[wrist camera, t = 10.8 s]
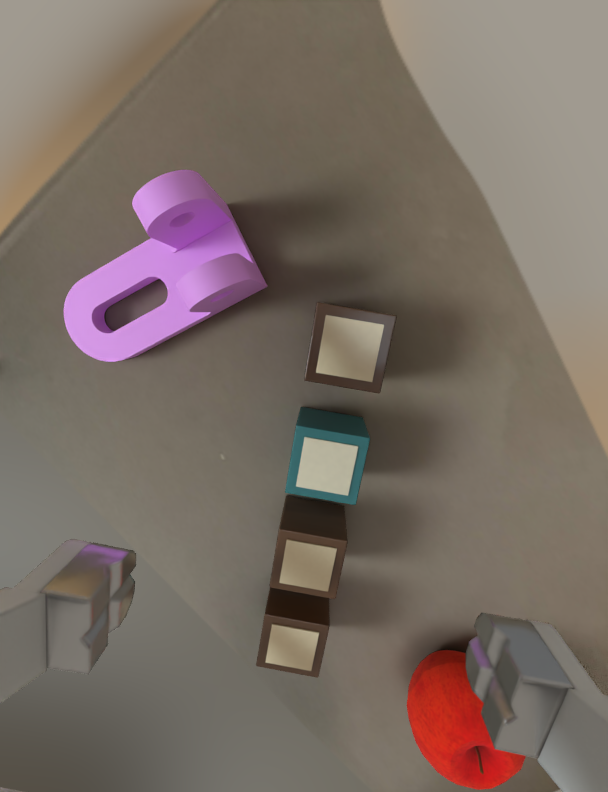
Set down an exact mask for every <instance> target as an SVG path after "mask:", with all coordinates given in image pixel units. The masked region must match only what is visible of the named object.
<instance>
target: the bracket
mask: <svg viewBox="0 0 608 792" xmlns="http://www.w3.org/2000/svg"><path fill="white" fill-rule="evenodd" d="M132 205H133V208H134V210H135V212H136V214H137V215H138V217H139V219H140V221H141V223H142V225H143V226H144V228H145V230H146V232H147V234H148V235H149V237H151V239H149V240H147V241H145V242H144V243H142V244H140V245H139V246H137V247H135V248H133V249H132V250H130V251H128V252H127V253H125V254H123V255H122V256H120V257H118V258H116V259H115V260H113V261H111V262H110V263H108V264H106V265H104V266H103V267H101V268H99V269H98V270H96V271H94V272H93V273H91V274H89V275H87V276H86V277H84V278H82V279H81V280H79V281H78V282H77V283H76V284H75V285H74V286H73V287H72V288H71V290H70V291H69V293H68V295H67V297H66V300H65V305H64V320H65V325H66V328H67V331H68V333H69V335H70V337H71V338H72V340H73V341H74V343H75V344H76V345H77V346H78V347H79V348H80V349H81V350H82V351H83V352H84V353H86V354H87V355H89V356H91V357H93V358H95V359H98V360H101V361H107V362H114V361H121V360H125V359H129V358H133V357H136V356H138V355H140V354H142V353H144V352H146V351H147V350H149V349H151V348H153V347H155V346H157V345H159V344H161V343H162V342H164V341H166V340H168V339H170V338H172V337H174V336H176V335H177V334H179V333H181V332H183V331H185V330H187V329H189V328H191V327H193V326H194V325H196V324H198V323H200V322H202V321H204V320H206V319H208V318H209V317H211V316H213V315H215V314H217V313H219V312H221V311H223V310H224V309H226V308H228V307H230V306H232V305H234V304H236V303H238V302H239V301H241V300H243V299H245V298H247V297H249V296H251V295H253V294H255V293H256V292H258V291H260V290H262V289H264V288H266V287H268V286H267V284H266V282H265V280H264V278H263V276H262V274H261V272H260V270H259V268H258V266H257V264H256V262H255V260H254V258H253V256H252V254H251V252H250V250H249V248H248V246H247V244H246V242H245V240H244V238H243V236H242V234H241V232H240V230H239V228H238V226H237V224H236V222H235V220H234V218H233V216H232V214H231V212H230V210H229V208H228V206H227V204H226V203H225V202H224V201H223V200H222V199H221V197H220V196H219V195H218V194H217V193H216V192H215V191H214V190H213V189H212V187H211V186H210V185H209V184H208V183H207V182H206V181H205V180H204V179H203V178H202V176H201V175H200V174H199V173H197V172H195V171H192V170H177V171H173V172H169V173H166V174H163V175H161V176H159V177H156V178H155V179H153V180H151V181H149V182H148V183H147V184H145V185H144V186H143V187H142V188H141V189H140V190H139V191H138V192H137V193H136V195H135V196H134V198H133V202H132ZM158 279H161V280H162V281H163V282H164V283H165V285H166V287H167V290H168V297H167V300H166V301H165V303H164V304H163V305H161V306H159V307H158V308H156V309H154V310H152V311H150V312H149V313H147V314H145V315H143V316H141V317H139V318H138V319H136V320H134V321H132V322H130V323H129V324H127V325H125V326H123V327H121V328H119V329H118V330H116V331H112V330H111V329H110V328H109V327H108V326H107V325H106V323H105V319H104V314H105V311H106V309H107V308H108V307H110V306H111V305H113V304H115V303H117V302H118V301H120V300H122V299H124V298H125V297H127V296H129V295H131V294H132V293H134V292H136V291H138V290H140V289H141V288H143V287H145V286H147V285H148V284H150V283H152V282H154V281H156V280H158Z"/></svg>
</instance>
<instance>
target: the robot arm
mask: <svg viewBox="0 0 608 792" xmlns="http://www.w3.org/2000/svg"><path fill="white" fill-rule="evenodd" d="M135 566H136V553H135V552H134V551H133V550H128V549H123V548H118V547H113V546H108V545H103V544H98V543H91V542H86V541H81V540H77V539H70V540H67V541H65V542H64V543H63V544H62V545H61V546H60V547H58V548H57V549H56V550H55V551H54V552H53V553H52V554H51V555H49V556H48V558H46V559H45V560H44V561H43V562H42V563H40V564H39V565H38V566H37V567H36V568H35V569H34V570H33V571H32V572H30V573H29V574H28V575H27V576H26V577H25V578H24V579H23V580H21V581H20V582H19V583H18V584H17V585H16V586H15V587H14V588H8V587H5V588H2V589H0V703H2V702H3V701H5V700H6V699H7V698H9V697H10V696H12V695H13V694H14V693H16V692H17V691H19V690H20V689H22V688H23V687H24V686H26V685H27V684H29V683H30V682H31V681H33V680H34V679H35V678H37V677H38V676H40V675H41V674H43V673H44V672H45V671H46V670H47V668H50V669H56V670H63V671H70V672H77V673H84V674H89V673H90V671H91V670H92V668H93V666H94V665H95V663H96V662H97V660H98V659H99V657H100V656H101V654H102V653H103V651H104V650H105V648H106V647H107V645H108V633H110V632H111V631H113V630H115V629H116V628H118V627H119V626H120V625H121V623H122V621H123V620H124V618H125V617H126V615H127V612H128V610H129V608H130V605H131V603H132V599H133V595H134V589H135V581H134V579H133V578H132V577H131V575H130V573H131V572H132V571H133V569H134V568H135ZM474 627H475V629H476V631H477V633H478V635H477V636H476V637H475V638H473V639H472V640H471V641H469V643H468V647H467V650H466V672H467V677H468V681H469V683H470V686H471V689H472V691H473V692H474V693H475V694H476V695H477V697H478V698H479V699H480V700H481V701H482V702H483V703H484V704H483V707H482V710H481V715H482V718H483V720H484V723H485V725H486V728H487V731H488V733H489V736H490V738H491V741H492V744H493V746H494V749H496V750H501V751H506V752H510V753H515V754H519V755H524V756H529V757H533V758H538V762H539V764H540V765H541V766H542V767H543V768H544V770H545V771H546V772H547V773H548V775H549V776H550V777H551V778H552V780H553V781H554V782H555V783H556V784H557V786H558V787H559V788H560V789H561V791H562V792H608V696H607V695H603V694H602V693H601V691H600V690H599V689H598V687H597V686H596V684H595V683H594V682H593V680H592V679H591V677H590V676H589V675H588V673H587V672H586V671H585V669H584V668H583V666H582V665H581V664H580V662H579V661H578V659H577V658H576V657H575V655H574V654H573V652H572V651H571V650H570V648H569V647H568V645H567V644H566V643H565V641H564V640H563V639H562V637H561V636H560V634H559V633H558V632H557V630H556V629H555V628H554V627H553V626H552V625H550V624H549V623H545V622H538V621H532V620H522V619H517V618H511V617H505V616H499V615H493V614H487V613H481V614H480V615H479V616H478V617H477V620H476V622H475V625H474ZM0 792H23V791H18V790H12V789H7V788H2V787H0Z"/></svg>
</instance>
